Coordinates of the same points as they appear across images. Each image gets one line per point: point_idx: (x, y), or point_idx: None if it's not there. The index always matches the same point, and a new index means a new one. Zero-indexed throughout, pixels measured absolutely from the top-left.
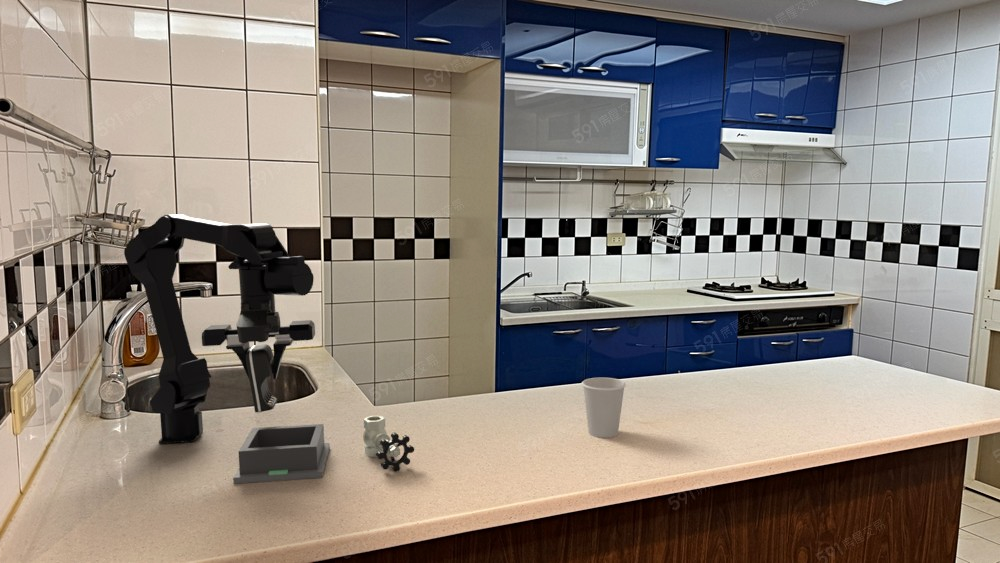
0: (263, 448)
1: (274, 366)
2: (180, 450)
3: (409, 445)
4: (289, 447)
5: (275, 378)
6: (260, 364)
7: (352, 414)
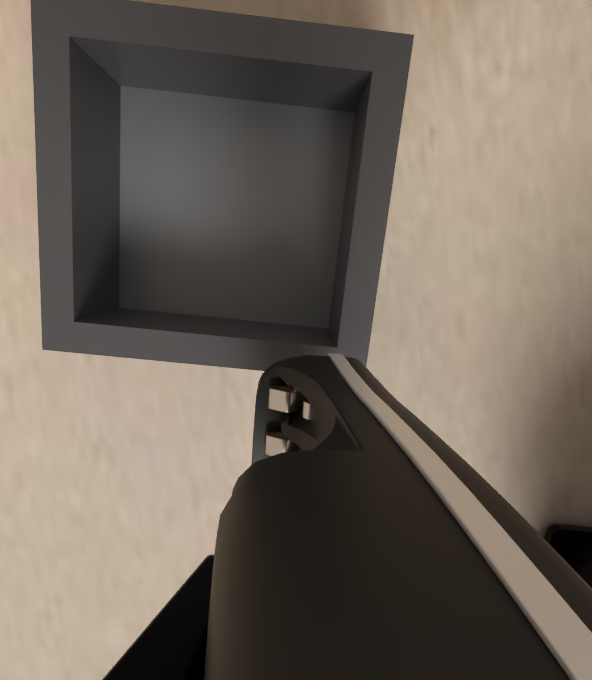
0: (295, 43)
1: (171, 665)
2: (588, 461)
3: None
4: (167, 16)
5: (208, 556)
6: (370, 585)
7: (40, 658)
